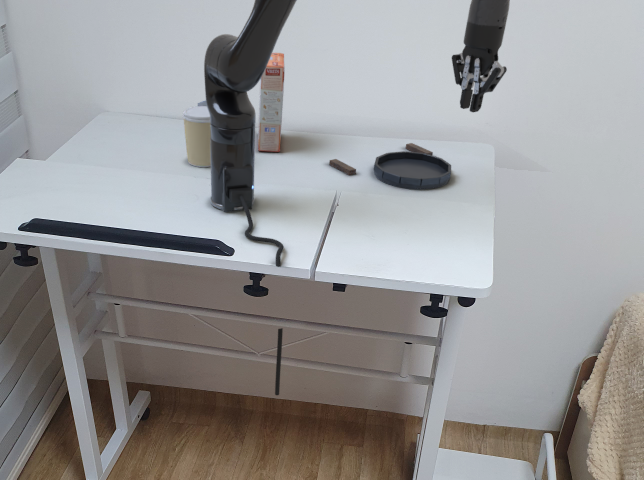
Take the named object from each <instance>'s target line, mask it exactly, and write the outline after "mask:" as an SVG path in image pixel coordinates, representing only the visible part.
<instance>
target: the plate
mask: <svg viewBox="0 0 644 480" xmlns="http://www.w3.org/2000/svg"><path fill="white" fill-rule="evenodd" d="M373 175H374V177H375V178H377V180H378V181H381V182H382V183H384V184H386V185H390V186H393V187H397V188H401V189H407V190H433V189H438V188H441V187H443V186H445V185H447V184H448V183H449V182H450V179H451V176H452V164H451V163H449V162H448V161H446V160H445V159H443V158H442V157H439V156H435V155H429V154H426V153H425V154H424V153H418V152H412V151H409V150H408V151H404V150H403V151H402V150H401V151H389V152H386V153H383V154H381V155H378V156H376V157H375V160H374V164H373Z"/></svg>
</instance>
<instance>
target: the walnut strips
mask: <svg viewBox="0 0 644 480" xmlns="http://www.w3.org/2000/svg"><path fill="white" fill-rule="evenodd" d="M405 149H406V150H408V151H409V152H418V153H424V154H425V153H426V154H429V155H432V156H434V152H433V151H431V150H430V149H427V148H424V147H422V146H419V145H418V144H415V143H413V142H410V143H406V144H405ZM328 166H331V167H332V168H334V169H336V170H338V171H340V172H342V173H344V174H346V175H347V176H353V175H357V168H355V167H353V166H351V165H349V164H347V163H346V162H344V161H341V160H339V159H337V158H333V159H329V162H328Z"/></svg>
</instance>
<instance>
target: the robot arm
mask: <svg viewBox="0 0 644 480" xmlns="http://www.w3.org/2000/svg"><path fill="white" fill-rule="evenodd" d="M297 1H298V0H254V4H253V7H252V9H251V12H250V14H249V16H248V18H247V21H246V22H245V24H244V26H243V28H242V30H241V31H240V33H239V35H238V36H236V35H233V34H228V33H224V34H219V35H218V36H216V37H214V38H213V39H212V40H211V41H210V42H209V44H208V45H207V48H206V51H205V54H204V61H203V70H204V71H203V75H204V94H205V101H206V104H207V108H208V111H209V114H210V151H211V167H210V204H211V205H212V206H213V207H214V208H216V209H218V210H221V211H223V212H224V213H230V212H241V211H244V213H245V216H246V219H247V223H248V226H247V229H246V230H244V236H245V237H246V239H248V240H250V241H254V242H258V243H259V242H261V243H267V244H272V245H275V246H276V247H278V248H277V250H276V253H275V266H276V267H277V268H281V266H282V265H281V264H282V263H281V255H282V253H283V251H284V249H285V246H284V243H282V242H281V241H279V240H277V239H276V238H275V239H274V238H270V237H262V236H255V235H252V234H250V233H251V232H252V231H253V229H254V222H253V218H252V214H251V212H250V210H253V206H254V204H255V157H256V155H255V153H256V152H255V151H256V121H257V120H256V119H257V118H256V114H257V113H256V109H255V107H254V105H253V104H252V102H251V99H250V98H249V95H248V92H250V91H251V90H252V89H254V88H255V87H256V86H257V85H258V84H259V83H260V79H261V77H262V75H263V73H264V71H265V69H266V67H267V64H268V62H269V59H270V57H271V54H272V53H274V49H275V47H276V44H277V42H278V40H279V37H280V35H281V33H282V31H283V28H284V27H285V24H286V23H287V21H288V19H289V17H290V15H291V13H292V11H293V9H294V7H295V5H296V4H297ZM510 4H511V3H510V0H470V4H469V9H468V14H467V20H466V25H465V31H464V36H463V44H464V48H463V49H462V52H461V53H458V54H457V53H456V54H452V55H451V63H452V69H453V75H454V82H455V84H456V85H459V86H460V89H461V92H460V93H461V94H460V99H459V106H460V109H463V110H467V109H469V112H471V113H477V112H479V111H480V110H481V108H482V104H483V100H484V96H485V94H486V93H492V92H494V90H495V88H496V87H497V85H498V84H499V83H500V81H501V80H502V79H503V77H504V76H505V74H506V73H507V71H508V69H507V66H502V65H501V63H500V62H499V50H500V48H501V47H502V45H503V41H504V35H505V31H506V25H507V21H508V16H509V13H510ZM283 330H284V328H278V329H277V347H276V361H275V362H276V365H275V384H274V395H275V396H280V390H281V389H280V386H281V385H280V384H281V368H282V354H283V353H282V350H283V349H282V348H283V334H284V333H283Z"/></svg>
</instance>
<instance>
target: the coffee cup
mask: <svg viewBox="0 0 644 480" xmlns="http://www.w3.org/2000/svg"><path fill="white" fill-rule="evenodd" d="M182 118H183V127H184V139H185V147H186V157H187V162H188V164H189V165H191V166H193V167H197V168H209V167H210V168H211V151H210V114H209V111H208V108H207V106H198V105H196V106H195V105H194V106H190V107H187V108H185V110H183V113H182Z"/></svg>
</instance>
